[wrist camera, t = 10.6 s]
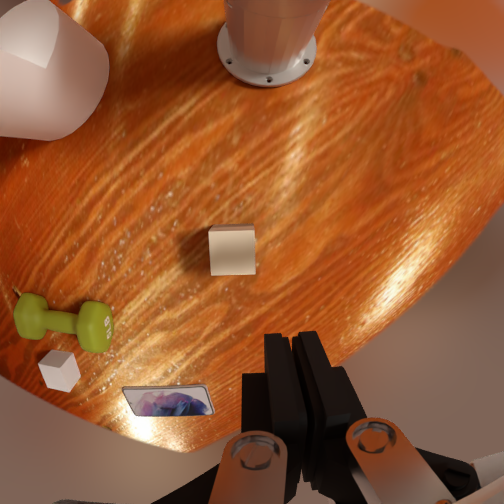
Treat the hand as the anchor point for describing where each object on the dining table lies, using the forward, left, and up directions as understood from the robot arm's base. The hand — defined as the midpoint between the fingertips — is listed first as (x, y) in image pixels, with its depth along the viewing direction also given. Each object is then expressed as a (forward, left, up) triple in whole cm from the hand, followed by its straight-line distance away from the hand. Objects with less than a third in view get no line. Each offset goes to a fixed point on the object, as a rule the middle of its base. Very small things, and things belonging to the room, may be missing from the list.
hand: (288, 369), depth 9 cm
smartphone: (+28, -16, -30) cm, 44 cm away
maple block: (+2, -3, -29) cm, 29 cm away
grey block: (+22, -34, -29) cm, 50 cm away
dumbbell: (+12, -29, -30) cm, 43 cm away
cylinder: (-23, -28, -29) cm, 47 cm away
